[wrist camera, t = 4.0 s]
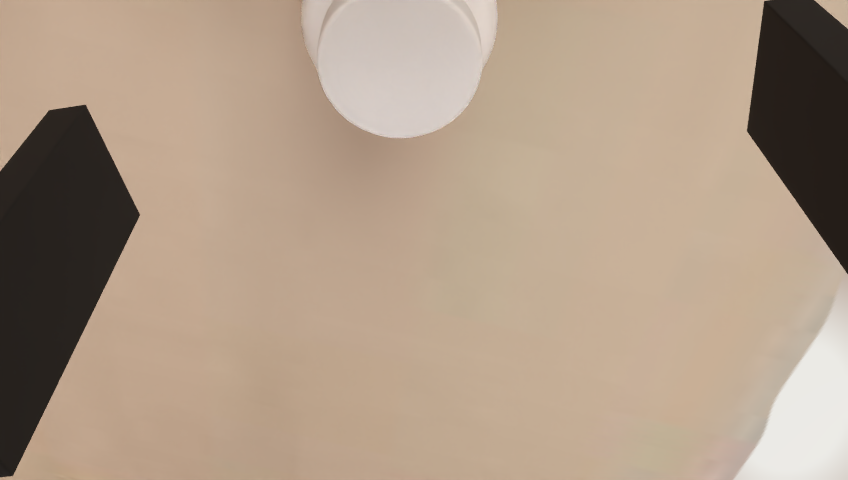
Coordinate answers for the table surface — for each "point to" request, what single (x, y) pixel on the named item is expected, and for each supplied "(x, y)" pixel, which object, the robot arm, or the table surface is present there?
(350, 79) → the pill bottle
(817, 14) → the robot arm
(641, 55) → the table surface
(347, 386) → the table surface
